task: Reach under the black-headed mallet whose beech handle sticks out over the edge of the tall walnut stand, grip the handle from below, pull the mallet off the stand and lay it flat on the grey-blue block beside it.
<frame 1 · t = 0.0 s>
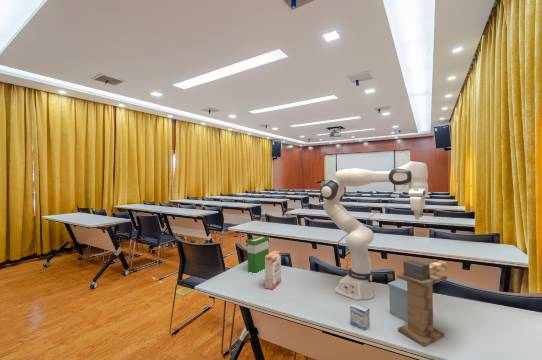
hand: (418, 218, 132), 48 cm above the table, tool pointing down, fingers open, 8 cm apart
stand: (417, 335, 112), on the table
medicine box: (359, 325, 120), on the table
grey-blue block: (409, 313, 129), on the table
cracker box: (273, 285, 168), on the table
hardback book: (258, 269, 197), on the table
mallet: (416, 276, 111), point 26 cm above the table, touching stand
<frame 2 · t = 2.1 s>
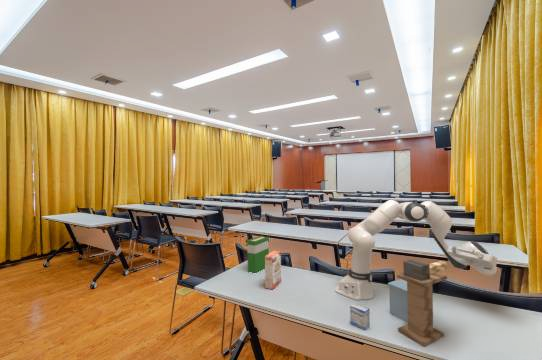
hand: (463, 249, 128), 32 cm above the table, tool pointing upward, fingers open, 8 cm apart
nothing on the table moved.
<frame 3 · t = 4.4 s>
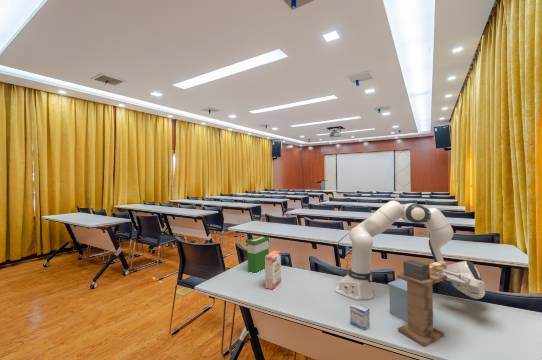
hand: (449, 273, 123), 22 cm above the table, tool pointing upward, fingers open, 8 cm apart
nothing on the table moved.
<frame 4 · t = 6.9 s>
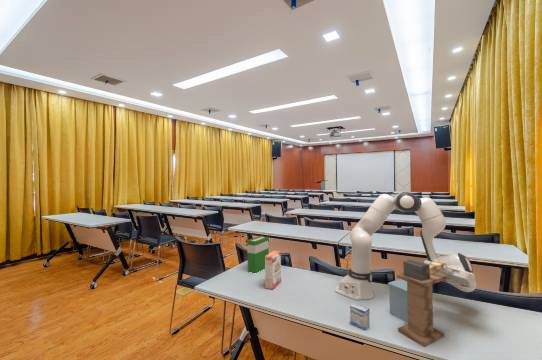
hand: (438, 265, 119), 28 cm above the table, tool pointing upward, fingers closed on mallet, 3 cm apart
mallet: (416, 276, 111), point 26 cm above the table, touching gripper, stand
everything else where it was.
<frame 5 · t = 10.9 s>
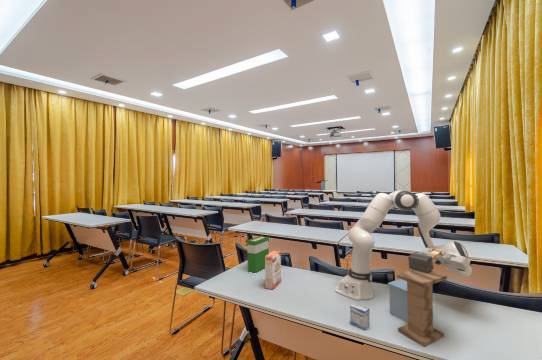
hand: (436, 251, 129), 32 cm above the table, tool pointing upward, fingers closed on mallet, 3 cm apart
mallet: (421, 268, 119), point 26 cm above the table, tilted 8°, touching gripper
everything else where it was.
when the fingers open (19 cm above the table, at t = 15.0 s): mallet stays where it is, resting on grey-blue block.
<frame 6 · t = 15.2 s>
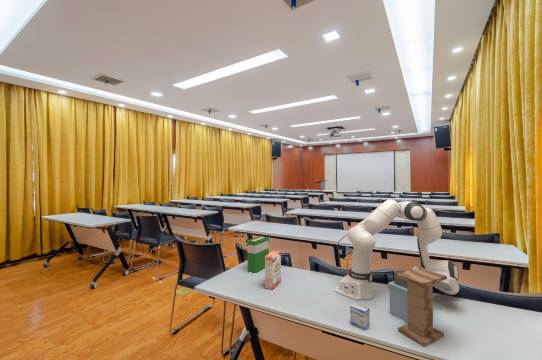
hand: (424, 271, 135), 19 cm above the table, tool pointing upward, fingers open, 5 cm apart
mallet: (405, 285, 127), point 15 cm above the table, touching grey-blue block
everything else where it was.
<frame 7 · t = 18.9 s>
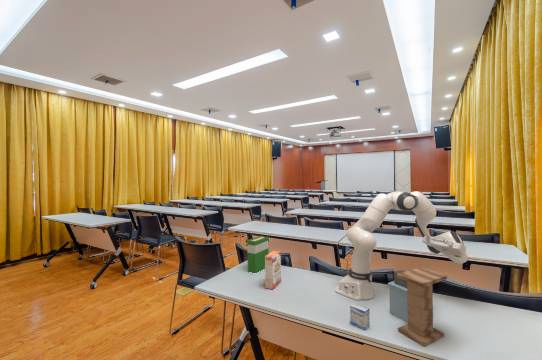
hand: (435, 238, 139), 35 cm above the table, tool pointing upward, fingers open, 8 cm apart
nothing on the table moved.
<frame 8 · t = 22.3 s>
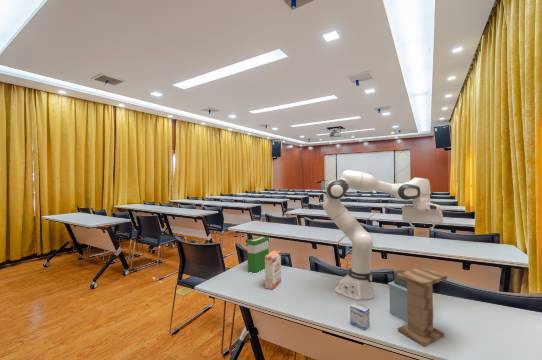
hand: (422, 229, 145), 39 cm above the table, tool pointing down, fingers open, 8 cm apart
nothing on the table moved.
at the end: mallet inside the target area on the grey-blue block (0.6 cm from its centre), point 15.5 cm above the grey-blue block's base; the gripper is holding nothing; mallet tilted 0° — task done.
